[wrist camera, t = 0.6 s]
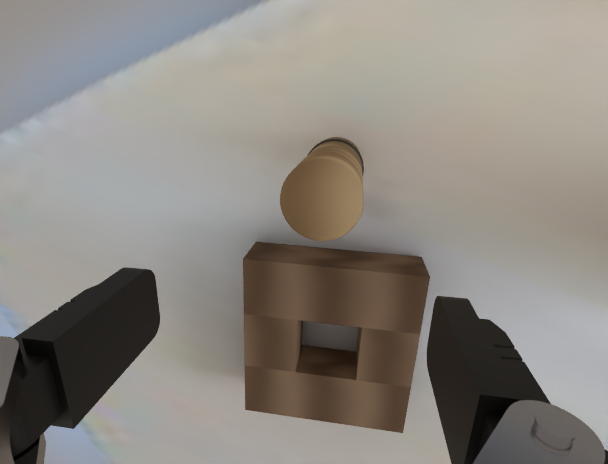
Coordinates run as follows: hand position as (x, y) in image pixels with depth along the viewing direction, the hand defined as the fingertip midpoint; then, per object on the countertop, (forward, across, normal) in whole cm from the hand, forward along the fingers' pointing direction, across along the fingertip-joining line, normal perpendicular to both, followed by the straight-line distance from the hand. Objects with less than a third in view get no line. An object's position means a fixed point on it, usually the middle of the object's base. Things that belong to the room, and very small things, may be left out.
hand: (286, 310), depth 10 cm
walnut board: (+22, 0, +15) cm, 27 cm away
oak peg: (+22, 0, -1) cm, 22 cm away
